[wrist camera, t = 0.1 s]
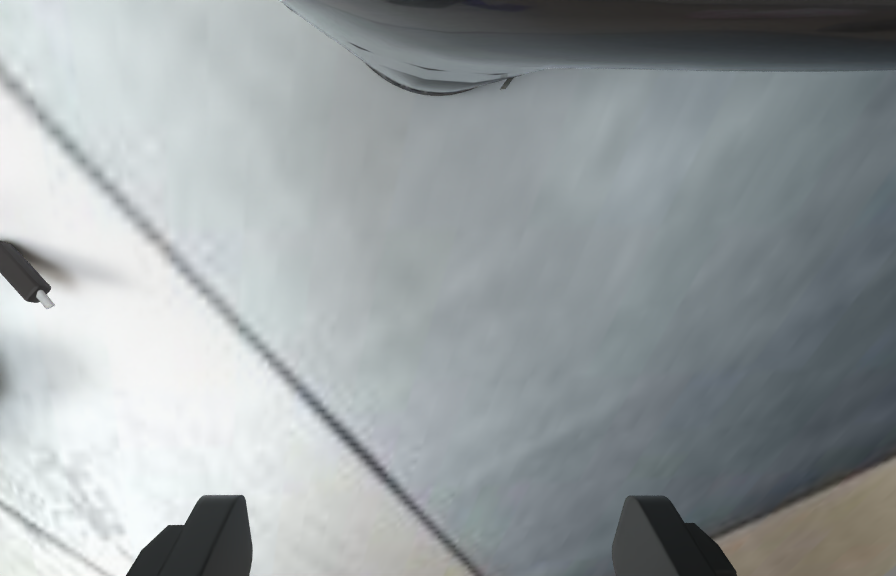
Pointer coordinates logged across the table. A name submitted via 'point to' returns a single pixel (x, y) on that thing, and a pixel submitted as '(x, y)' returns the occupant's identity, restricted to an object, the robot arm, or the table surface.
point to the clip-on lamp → (23, 276)
